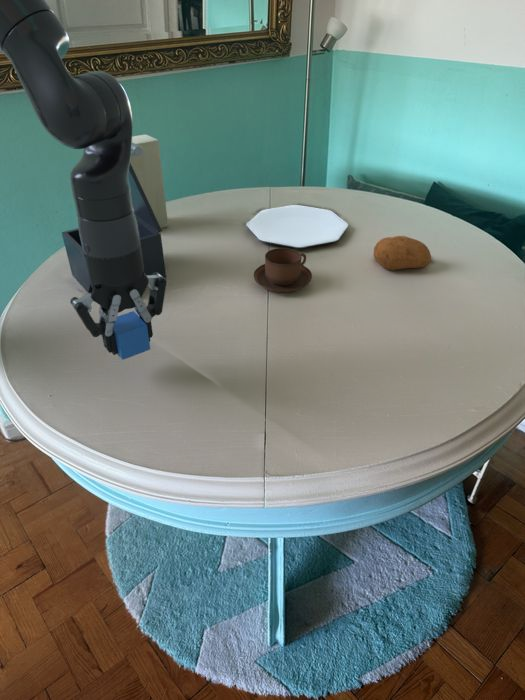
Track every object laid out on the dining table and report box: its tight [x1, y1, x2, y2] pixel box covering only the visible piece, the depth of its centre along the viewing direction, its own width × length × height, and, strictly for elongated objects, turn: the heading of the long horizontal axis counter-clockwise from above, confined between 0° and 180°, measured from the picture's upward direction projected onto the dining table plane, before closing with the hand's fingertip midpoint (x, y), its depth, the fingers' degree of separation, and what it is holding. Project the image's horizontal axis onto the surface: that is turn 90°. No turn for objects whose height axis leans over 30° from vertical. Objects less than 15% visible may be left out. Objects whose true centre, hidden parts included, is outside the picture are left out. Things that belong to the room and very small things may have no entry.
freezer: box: [61, 216, 167, 293], centre depth 107 cm, size 16×13×10 cm
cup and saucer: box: [253, 247, 313, 293], centre depth 106 cm, size 12×12×6 cm
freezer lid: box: [128, 142, 163, 233], centre depth 102 cm, size 17×13×5 cm
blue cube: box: [113, 310, 151, 361], centre depth 78 cm, size 5×5×5 cm
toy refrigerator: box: [130, 134, 169, 229], centre depth 125 cm, size 8×7×21 cm
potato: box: [373, 235, 432, 271], centre depth 111 cm, size 7×13×7 cm, turn 96°
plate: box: [246, 204, 349, 249], centre depth 128 cm, size 24×24×2 cm
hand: (129, 345), depth 79 cm, fingers closed on blue cube, 4 cm apart
